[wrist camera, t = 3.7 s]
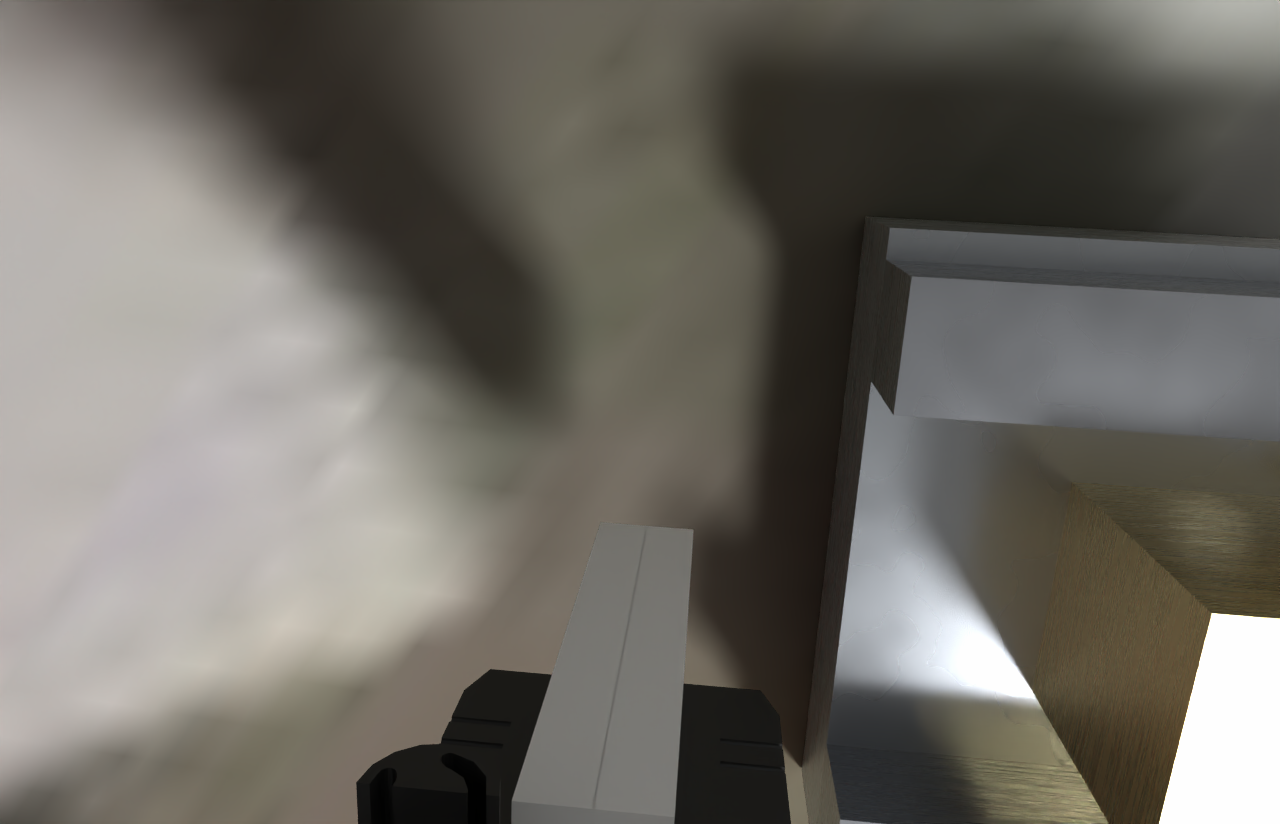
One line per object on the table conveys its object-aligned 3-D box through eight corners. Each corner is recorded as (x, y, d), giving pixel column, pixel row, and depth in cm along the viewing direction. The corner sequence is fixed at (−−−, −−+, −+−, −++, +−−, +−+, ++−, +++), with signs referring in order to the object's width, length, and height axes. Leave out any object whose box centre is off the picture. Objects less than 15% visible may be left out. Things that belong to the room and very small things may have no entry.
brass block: (1072, 482, 15) (1212, 613, 11) (1321, 499, 15) (1566, 641, 11) (1031, 690, 16) (1144, 885, 12) (1263, 710, 16) (1463, 915, 12)
